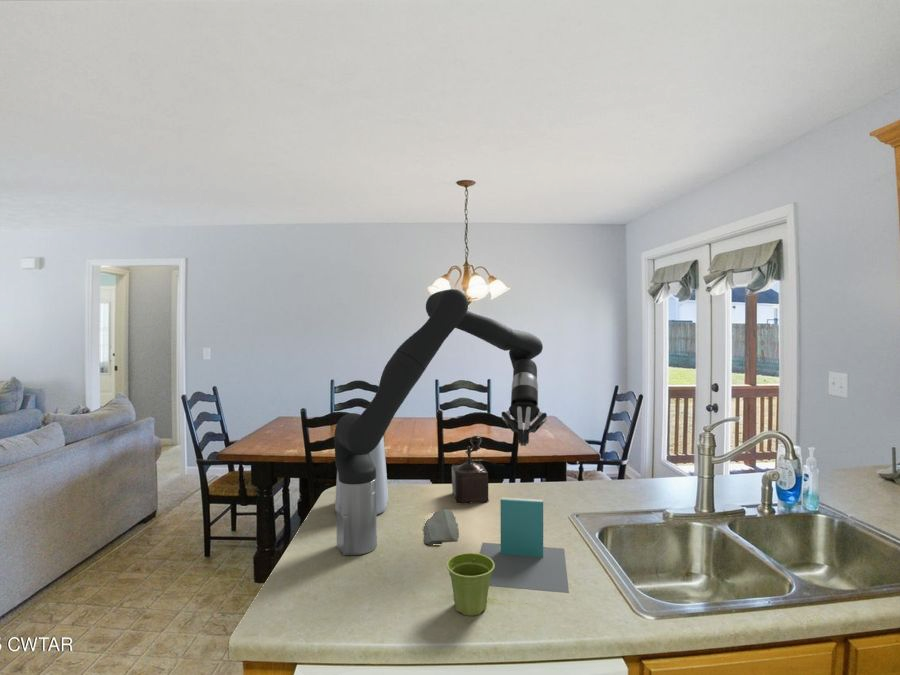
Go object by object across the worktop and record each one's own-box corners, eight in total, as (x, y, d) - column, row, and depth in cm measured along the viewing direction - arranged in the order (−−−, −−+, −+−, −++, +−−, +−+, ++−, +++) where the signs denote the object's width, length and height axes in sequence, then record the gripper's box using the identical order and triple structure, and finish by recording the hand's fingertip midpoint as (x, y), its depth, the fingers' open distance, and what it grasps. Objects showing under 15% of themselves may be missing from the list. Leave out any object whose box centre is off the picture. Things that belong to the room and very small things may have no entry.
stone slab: (425, 552, 123) (464, 545, 124) (424, 542, 123) (463, 534, 124) (421, 518, 145) (454, 512, 146) (419, 509, 145) (452, 503, 146)
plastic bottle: (389, 498, 157) (388, 411, 157) (384, 516, 142) (383, 420, 141) (342, 499, 157) (341, 412, 156) (332, 517, 142) (331, 421, 141)
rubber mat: (568, 596, 100) (568, 592, 100) (471, 587, 103) (471, 583, 103) (564, 551, 120) (564, 548, 119) (482, 545, 123) (482, 542, 123)
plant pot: (498, 620, 92) (498, 574, 92) (448, 623, 91) (448, 577, 91) (490, 593, 101) (490, 551, 101) (445, 595, 101) (444, 553, 100)
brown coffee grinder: (491, 502, 153) (491, 445, 153) (456, 504, 152) (456, 446, 151) (480, 486, 169) (480, 434, 168) (449, 488, 167) (448, 435, 167)
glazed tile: (543, 557, 115) (543, 502, 115) (500, 554, 117) (500, 500, 117) (543, 553, 117) (543, 499, 116) (501, 550, 119) (501, 497, 118)
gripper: (500, 383, 140) (497, 435, 128) (548, 384, 137) (549, 437, 126) (502, 399, 145) (499, 450, 133) (547, 400, 143) (548, 452, 131)
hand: (523, 444), depth 130 cm, fingers closed
